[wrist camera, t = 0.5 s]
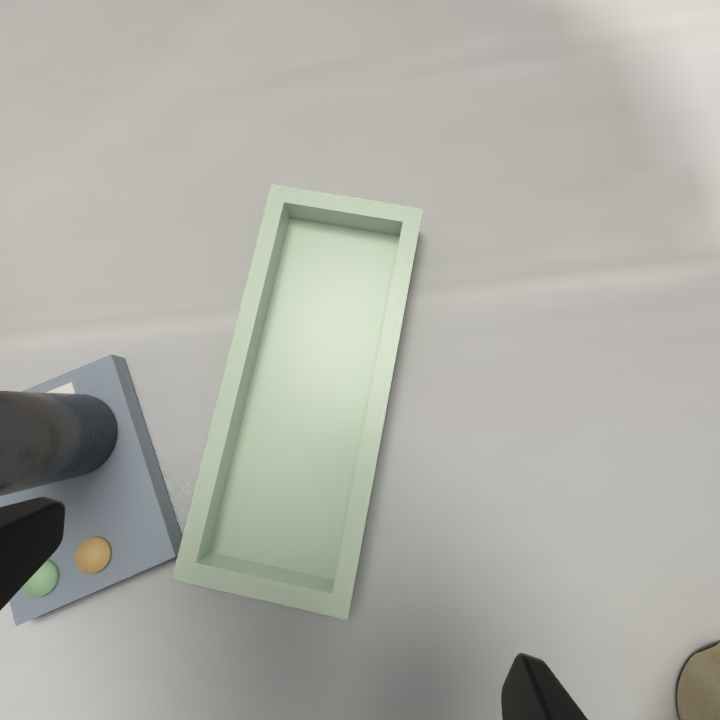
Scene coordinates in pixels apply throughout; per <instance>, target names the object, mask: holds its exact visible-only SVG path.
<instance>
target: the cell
mask: <svg viewBox="0 0 720 720" xmlns="http://www.w3.org/2000/svg"><path fill="white" fill-rule="evenodd" d="M116 440H117V424H116V420H115V417H114V415H113V413H112V411H111V410H110V408H109V407H108V406H107V405H106V404H105V403H104V402H103V401H101V400H100V399H98V398H96V397H94V396H91V395H86V394H68V393H41V392H14V391H0V496H3V495H7V494H11V493H15V492H19V491H23V490H27V489H31V488H35V487H39V486H43V485H47V484H51V483H55V482H59V481H63V480H67V479H71V478H75V477H79V476H83V475H86V474H89V473H91V472H93V471H95V470H97V469H98V468H99V467H101V466H102V465H103V464H104V463H105V462H106V461H107V460H108V458H109V457H110V455H111V453H112V452H113V450H114V447H115V444H116Z"/></svg>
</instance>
